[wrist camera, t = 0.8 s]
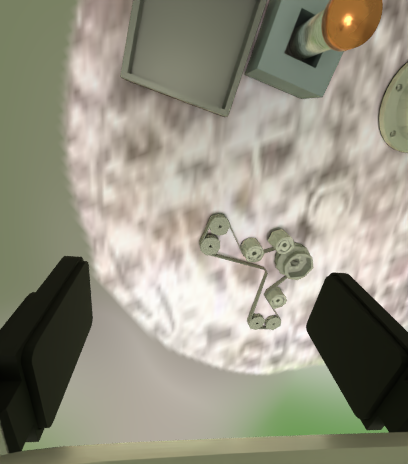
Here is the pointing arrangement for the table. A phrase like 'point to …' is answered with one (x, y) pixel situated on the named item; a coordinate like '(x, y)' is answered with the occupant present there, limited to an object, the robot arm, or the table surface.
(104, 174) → the table surface
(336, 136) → the table surface
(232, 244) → the table surface
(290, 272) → the pulley system
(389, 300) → the table surface
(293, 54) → the pin
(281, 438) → the robot arm
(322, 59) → the block
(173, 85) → the parts tray
